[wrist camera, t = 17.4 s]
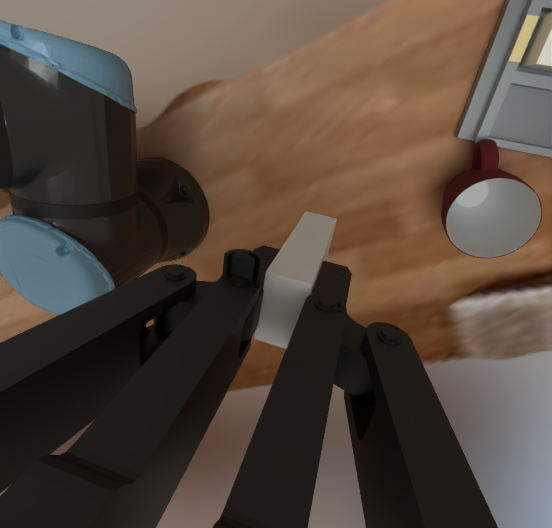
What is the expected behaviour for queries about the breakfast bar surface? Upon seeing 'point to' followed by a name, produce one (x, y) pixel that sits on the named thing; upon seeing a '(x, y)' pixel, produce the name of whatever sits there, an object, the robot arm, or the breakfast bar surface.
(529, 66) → the tab
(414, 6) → the breakfast bar surface
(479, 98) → the switch bank
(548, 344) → the breakfast bar surface
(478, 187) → the mug
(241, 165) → the breakfast bar surface
